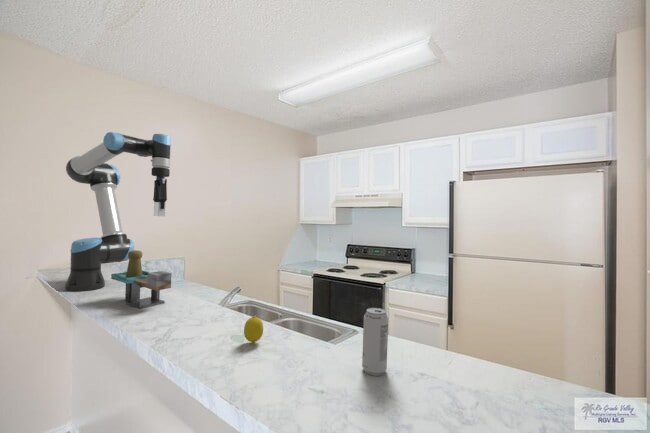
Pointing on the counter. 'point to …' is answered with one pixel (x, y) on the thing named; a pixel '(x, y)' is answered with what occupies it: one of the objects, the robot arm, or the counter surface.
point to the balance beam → (147, 279)
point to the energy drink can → (375, 341)
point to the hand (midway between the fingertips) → (159, 216)
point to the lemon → (253, 329)
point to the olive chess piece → (134, 264)
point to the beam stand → (134, 297)
